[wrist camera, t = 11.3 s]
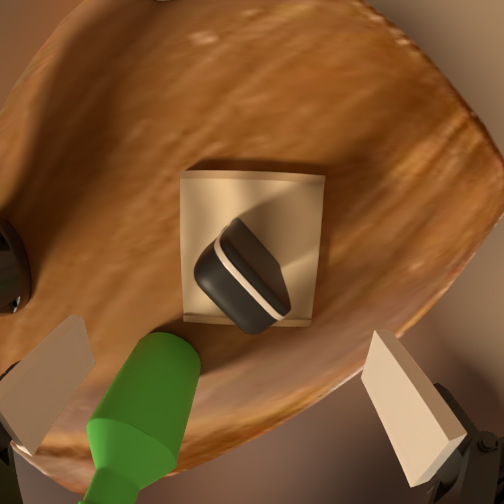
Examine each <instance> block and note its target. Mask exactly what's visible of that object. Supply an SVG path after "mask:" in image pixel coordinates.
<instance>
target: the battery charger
mask: <svg viewBox="0 0 504 504" xmlns="http://www.w3.org/2000/svg"><path fill="white" fill-rule="evenodd" d="M194 279H195V281H196V283H197V285H198V286H199V287H200V289H201V290H202V291H203V292H204V293H205V294H206V295H207V296H208V297H209V298H210V299H211V300H212V301H213V302H214V303H215V304H216V305H217V307H218V308H219V309H220V310H221V311H222V312H223V313H224V314H225V315H227V316H228V317H229V318H230V319H231V320H232V321H233V322H234V323H235V324H236V325H237V326H238V327H239V328H240V329H241V330H242V331H244V332H245V333H247V334H251V335H256V334H259V333H261V332H263V331H265V330H266V329H267V328H269V327H270V326H271V325H273V324H274V323H276V322H277V321H278V320H279V321H281V320H282V319H284V318H285V317H286V314H288V313H289V312H290V311H291V302H290V298H289V294H288V290H287V287H286V284H285V281H284V278H283V275H282V272H281V268H280V264H279V263H278V262H277V260H276V259H275V258H274V257H273V256H272V255H271V253H270V252H269V251H268V250H267V249H266V248H265V247H264V245H263V244H262V243H261V242H260V241H259V240H258V239H257V237H256V236H255V235H254V234H253V233H252V232H251V231H250V230H249V228H248V227H247V226H246V225H245V224H244V223H243V222H242V221H241V219H239V218H235V219H233V220H231V221H230V222H229V223H228V225H226V226H225V227H224V228H223V230H222V231H221V233H220V234H219V236H218V237H217V238H216V239H215V240H214V241H213V242H211V243H210V244H209V245H208V246H207V247H206V248H205V249H204V251H203V252H202V253H201V255H200V256H199V258H198V260H197V262H196V264H195V266H194Z"/></svg>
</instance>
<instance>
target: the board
mask: <svg viewBox="0 0 504 504" xmlns="http://www.w3.org/2000/svg"><path fill="white" fill-rule="evenodd" d="M325 177H326V176H323V175H311V174H297V173H281V172H260V171H220V170H193V171H179V179H180V243H181V272H182V292H183V309H184V314H183V321H184V322H193V323H207V324H224V325H236V324H235V323H234V322H233V321H232V320H231V319H230V318H229V317H228V316H227V315H225V314H224V313H223V312H222V311H221V310H220V309H219V308H218V307H217V305H216V304H215V303H214V302H213V301H212V300H211V299H210V298H209V297H208V296H207V295H206V294H205V293H204V292H203V291H202V290H201V289H200V287H199V286H198V285H197V283H196V281H195V279H194V266H195V264H196V262H197V260H198V258H199V256H200V255H201V253H202V252H203V251H204V249H205V248H206V247H207V246H208V245H209V244H210V243H211V242H213V241H214V240H215V239H216V238H217V237H218V236H219V234H220V233H221V231H222V230H223V228H224V227H225V226H226V225H228V223H229V222H230V221H231V220H233V219H235V218H239V219H241V221H242V222H243V223H244V224H245V225H246V226H247V227H248V228H249V230H250V231H251V232H252V233H253V234H254V235H255V236H256V237H257V239H258V240H259V241H260V242H261V243H262V244H263V245H264V247H265V248H266V249H267V250H268V251H269V252H270V253H271V255H272V256H273V257H274V258H275V259H276V260H277V262H278V263H279V264H280V268H281V272H282V275H283V278H284V281H285V284H286V287H287V290H288V294H289V298H290V302H291V311H290V312H289V313H288V314H286V317H285V318H284V319H282V320H281V321H279V320H278V321H277V322H276V323H274V324H273V325H271V326H280V327H311V323H312V319H311V317H312V310H313V302H314V294H315V286H316V277H317V268H318V258H319V248H320V236H321V224H322V211H323V195H324V184H325Z"/></svg>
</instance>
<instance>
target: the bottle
mask: <svg viewBox="0 0 504 504" xmlns="http://www.w3.org/2000/svg"><path fill="white" fill-rule="evenodd" d="M200 370H201V362H200V358H199V355H198V353H197V352H196V351H195V349H194V348H193V347H192V345H190V344H189V343H188V342H186V341H185V340H184V339H182V338H180V337H178V336H176V335H173V334H171V333H164V332H155V333H150V334H147V335H146V336H144V337H143V338H142V339H140V340H139V342H138V343H137V345H136V346H135V348H134V349H133V351H132V352H131V354H130V356H129V357H128V359H127V360H126V362H125V363H124V365H123V366H122V368H121V369H120V371H119V372H118V374H117V376H116V377H115V379H114V380H113V382H112V384H111V385H110V387H109V388H108V390H107V392H106V393H105V395H104V396H103V398H102V400H101V401H100V403H99V405H98V406H97V408H96V410H95V411H94V413H93V415H92V416H91V418H90V420H89V421H88V424H87V427H86V431H87V436H88V441H89V445H90V449H91V453H92V457H93V461H94V464H95V468H96V472H95V474H94V477H93V479H92V481H91V483H90V485H89V488H88V490H87V492H86V494H85V497H84V499H83V501H79V502H78V504H135V501H136V498H137V495H138V492H139V490H141V489H142V488H144V487H146V486H148V485H149V484H151V483H153V482H155V481H157V480H158V479H160V478H162V477H163V476H165V475H167V474H168V473H170V472H171V471H172V470H173V469H175V468H176V462H177V458H178V454H179V451H180V447H181V443H182V440H183V436H184V432H185V429H186V425H187V422H188V418H189V414H190V411H191V407H192V403H193V399H194V395H195V391H196V387H197V383H198V379H199V375H200Z"/></svg>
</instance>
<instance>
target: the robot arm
mask: <svg viewBox="0 0 504 504" xmlns="http://www.w3.org/2000/svg"><path fill="white" fill-rule="evenodd" d="M30 291H31V276H30V269H29V264H28V260H27V256H26V253H25V250H24V248H23V245H22V243H21V241H20V239H19V237H18V235H17V234H16V232H15V231H14V229H13V228H12V227H11V226H10V225H9V224H8V223H7V222H6V221H4V220H2V219H0V316H6V315H12V314H14V313H16V312H18V311H19V310H20V309H22V308H23V307H24V306H25V305H26V304H27V302H28V300H29V297H30ZM95 364H96V363H95V360H94V357H93V353H92V350H91V346H90V343H89V339H88V335H87V331H86V327H85V323H84V319H83V316H77V315H70V316H69V317H67V318H66V319H65V320H64V321H63V322H62V323H61V324H60V325H58V326H57V327H56V328H55V329H54V330H53V331H52V332H51V333H50V334H48V335H47V336H46V337H45V338H44V339H43V340H42V341H41V342H40V343H39V344H38V345H37V346H35V347H34V348H33V349H32V350H31V351H30V352H29V353H28V354H27V355H26V356H25V357H24V358H23V359H22V360H20V361H18V362H16V363H15V364H13V365H11V366H10V367H9V368H8V369H7V370H6V371H5V374H4V373H3V374H2V375H1V376H0V504H23V501H22V497H21V493H20V489H19V484H18V479H17V474H16V469H15V462H14V456H13V449H12V446H11V445H10V444H9V443H10V442H11V440H13V441H14V443H15V444H16V445H17V447H18V448H19V449H20V450H22V451H24V452H25V453H27V454H29V455H31V456H32V457H33V455H34V453H35V452H36V450H37V449H38V447H39V445H40V444H41V442H42V441H43V439H44V438H45V436H46V434H47V433H48V431H49V430H50V428H51V427H52V425H53V424H54V422H55V421H56V419H57V418H58V416H59V415H60V413H61V412H62V410H63V409H64V407H65V406H66V405H67V403H68V402H69V400H70V399H71V397H72V396H73V395H74V393H75V392H76V390H77V389H78V387H79V386H80V385H81V383H82V382H83V381H84V379H85V378H86V376H87V375H88V374H89V372H90V371H91V370H92V368H93V367H94V365H95ZM361 379H362V381H363V383H364V385H365V387H366V389H367V391H368V394H369V395H370V398H371V400H372V402H373V404H374V406H375V408H376V410H377V413H378V415H379V417H380V419H381V421H382V423H383V425H384V427H385V430H386V432H387V434H388V436H389V438H390V441H391V443H392V445H393V447H394V450H395V452H396V454H397V457H398V459H399V461H400V463H401V466H402V468H403V470H404V472H405V475H406V477H407V480H408V482H409V485H410V487H414V486H416V485H419V484H422V483H424V482H427V481H429V480H430V479H431V477H432V476H433V475H434V474H435V473H436V472H437V474H438V476H439V478H438V479H437V480H436V481H435V482H434V483H433V484H432V486H431V487H430V488H429V489H428V490H427V492H426V493H427V494H428V493H429V492H430V491H431V490H432V489H433V491H432V494H431V496H430V499H429V502H428V504H504V437H500V438H498V437H497V436H496V435H495V434H493V433H491V432H488V431H481V432H479V431H478V430H477V428H476V427H475V425H474V424H473V423H472V421H471V420H470V418H469V417H468V416H467V414H466V413H465V412H464V410H463V409H462V408H461V407H459V404H458V402H457V401H456V400H454V397H453V396H452V394H451V393H450V392H449V391H448V390H447V389H446V388H445V387H443V386H442V385H440V384H439V383H436V384H432V383H431V382H430V380H429V379H428V378H427V376H426V375H425V374H424V372H423V371H422V370H421V369H420V367H419V366H418V365H417V363H416V362H415V361H414V359H413V358H412V357H411V356H410V355H409V353H408V352H407V351H406V349H405V348H404V347H403V346H402V345H401V343H400V342H399V341H398V339H397V338H396V337H395V336H394V334H393V333H392V332H391V331H390V329H383V330H374V334H373V338H372V342H371V345H370V349H369V353H368V356H367V360H366V363H365V366H364V370H363V373H362V376H361Z"/></svg>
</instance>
